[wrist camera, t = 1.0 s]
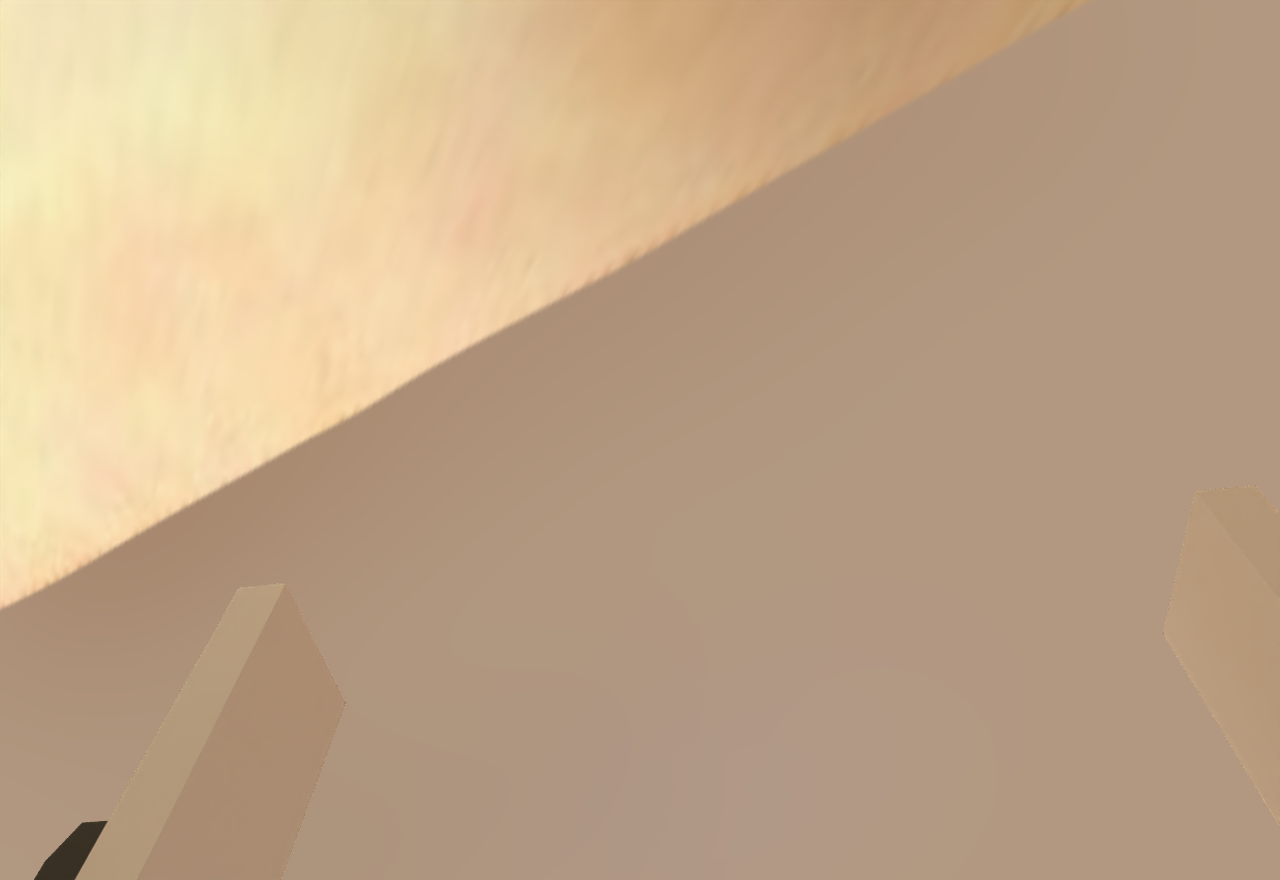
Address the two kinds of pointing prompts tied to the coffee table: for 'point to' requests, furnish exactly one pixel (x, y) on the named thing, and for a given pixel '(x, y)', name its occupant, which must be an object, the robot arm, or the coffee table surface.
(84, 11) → the coffee table surface
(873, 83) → the coffee table surface
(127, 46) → the coffee table surface
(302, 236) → the coffee table surface
